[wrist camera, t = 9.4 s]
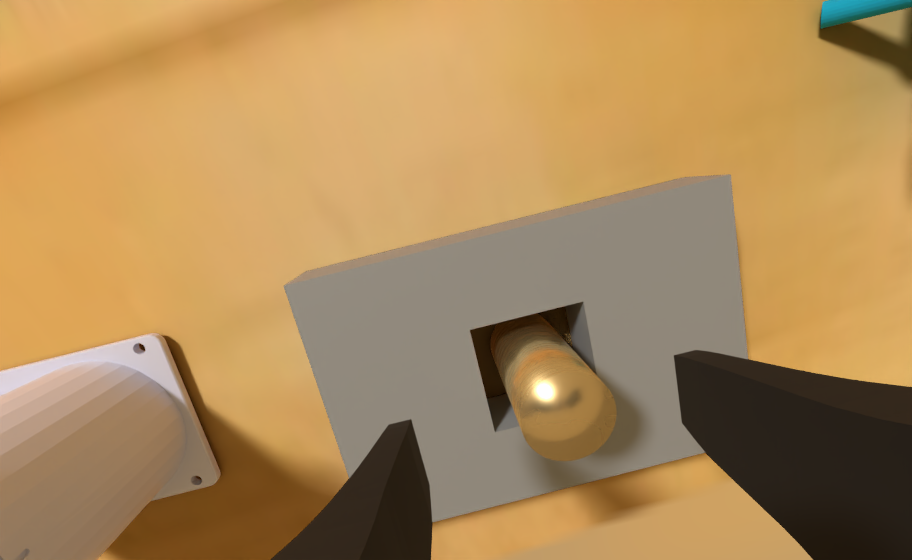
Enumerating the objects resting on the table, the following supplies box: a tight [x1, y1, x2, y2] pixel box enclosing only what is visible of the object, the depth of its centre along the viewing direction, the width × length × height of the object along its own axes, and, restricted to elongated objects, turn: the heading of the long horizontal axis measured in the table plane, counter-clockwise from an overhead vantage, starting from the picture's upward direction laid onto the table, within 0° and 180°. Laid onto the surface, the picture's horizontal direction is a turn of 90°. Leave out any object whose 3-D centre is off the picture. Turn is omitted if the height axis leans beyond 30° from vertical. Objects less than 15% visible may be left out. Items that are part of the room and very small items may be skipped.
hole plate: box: [284, 175, 748, 522], centre depth 19 cm, size 18×12×3 cm, turn 104°
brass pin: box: [490, 313, 617, 461], centre depth 17 cm, size 3×3×7 cm
